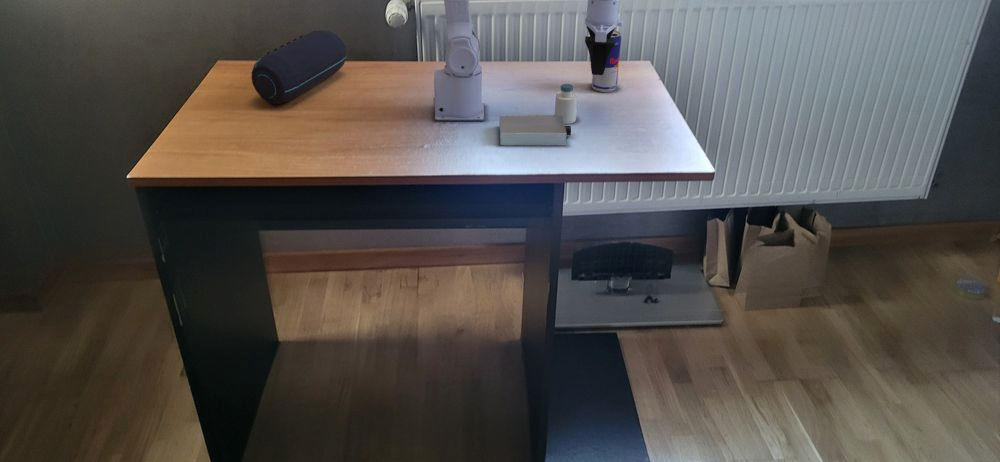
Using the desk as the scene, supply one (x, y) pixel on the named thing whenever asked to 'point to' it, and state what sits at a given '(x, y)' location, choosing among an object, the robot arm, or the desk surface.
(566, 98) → the bottle
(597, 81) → the energy drink
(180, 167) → the desk surface
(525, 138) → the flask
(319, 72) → the portable speaker
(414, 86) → the desk surface
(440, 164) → the desk surface
